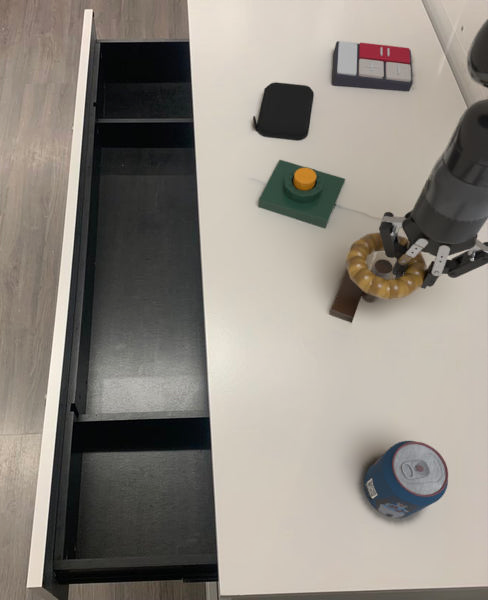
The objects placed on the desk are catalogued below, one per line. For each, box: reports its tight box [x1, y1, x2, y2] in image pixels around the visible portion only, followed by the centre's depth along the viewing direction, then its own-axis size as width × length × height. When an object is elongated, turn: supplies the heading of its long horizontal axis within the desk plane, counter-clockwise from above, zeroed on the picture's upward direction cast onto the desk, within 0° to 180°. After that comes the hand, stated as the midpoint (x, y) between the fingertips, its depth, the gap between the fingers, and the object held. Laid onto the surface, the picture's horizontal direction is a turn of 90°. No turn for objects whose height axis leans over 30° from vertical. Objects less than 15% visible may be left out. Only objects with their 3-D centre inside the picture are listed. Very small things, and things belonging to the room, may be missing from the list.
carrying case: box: [252, 82, 315, 141], centre depth 101 cm, size 11×3×15 cm
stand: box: [328, 258, 394, 324], centre depth 77 cm, size 9×9×10 cm
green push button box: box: [257, 159, 346, 229], centre depth 90 cm, size 12×10×4 cm
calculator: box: [330, 40, 413, 92], centre depth 106 cm, size 11×4×15 cm
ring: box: [345, 232, 428, 300], centre depth 72 cm, size 10×10×3 cm
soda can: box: [363, 440, 449, 519], centre depth 62 cm, size 7×7×12 cm
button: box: [293, 167, 316, 191], centre depth 88 cm, size 4×4×2 cm
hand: (410, 278), depth 72 cm, fingers closed on ring, 2 cm apart
